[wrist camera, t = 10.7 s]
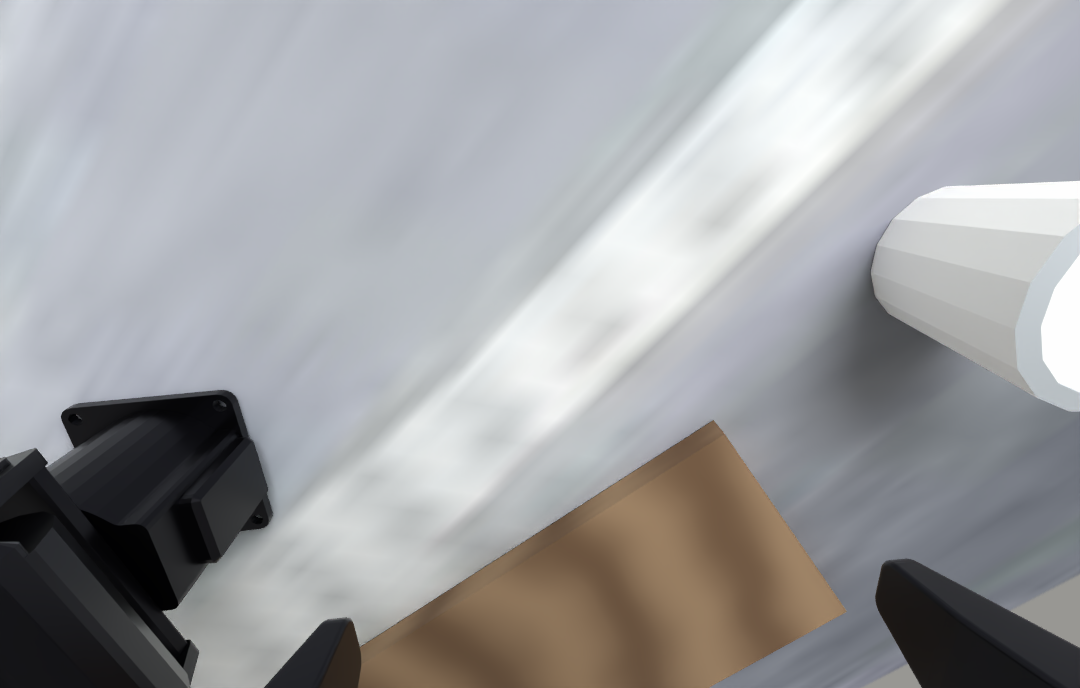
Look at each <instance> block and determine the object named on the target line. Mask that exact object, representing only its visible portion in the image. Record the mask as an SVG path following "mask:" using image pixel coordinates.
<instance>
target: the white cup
mask: <svg viewBox="0 0 1080 688" xmlns="http://www.w3.org/2000/svg"><path fill="white" fill-rule="evenodd" d="M871 277H872V282H873V288H874V294H875V297H876V298H877V299H878V301H879V302H880V303H881V305H882V306H883V307H884V309H885V310H886V311H887V312H888V314H890V315H892V316H893V317H895V318H897V319H899V320H901V321H902V322H904V323H906V324H908V325H909V326H911V327H913V328H915V329H916V330H918V331H920V332H922V333H924V334H925V335H927V336H929V337H931V338H932V339H934V340H936V341H938V342H939V343H941V344H943V345H945V346H947V347H948V348H950V349H952V350H954V351H955V352H957V353H959V354H961V355H962V356H964V357H966V358H968V359H969V360H971V361H973V362H975V363H977V364H978V365H980V366H982V367H984V368H985V369H987V370H989V371H991V372H992V373H994V374H996V375H998V376H1000V377H1001V378H1003V379H1005V380H1007V381H1008V382H1010V383H1012V384H1014V385H1015V386H1017V387H1019V388H1021V389H1023V390H1024V391H1026V392H1028V393H1030V394H1031V395H1033V396H1035V397H1037V398H1039V399H1041V400H1044V401H1046V402H1048V403H1051V404H1053V405H1055V406H1058V407H1060V408H1062V409H1065V410H1067V411H1069V412H1072V411H1080V181H1070V182H1045V183H1021V184H997V185H973V186H948V187H942V188H940V189H938V190H935V191H933V192H930V193H928V194H926V195H923V196H921V197H918V198H916V199H915V200H914V201H913V202H912V203H911V204H909V205H908V206H907V207H906V208H905V209H904V210H903V211H901V212H900V213H899V214H898V215H897V216H896V217H894V218H893V220H892V221H891V223H890V224H889V226H888V228H887V229H886V231H885V232H884V234H883V236H882V237H881V239H880V241H879V242H878V244H877V246H876V251H875V255H874V260H873V264H872V268H871Z"/></svg>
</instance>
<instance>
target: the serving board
mask: <svg viewBox="0 0 1080 688" xmlns="http://www.w3.org/2000/svg"><path fill="white" fill-rule="evenodd" d="M845 612H847V611H846V610H845V608H844V607H843V605H842V604H841V602H840V601H839V599H838V598H837V597H836V595H835V594H834V592H833V591H832V589H831V588H830V586H829V585H828V583H827V582H826V581H825V579H824V578H823V576H822V575H821V573H820V572H819V570H818V569H817V567H816V566H815V565H814V563H813V562H812V560H811V559H810V557H809V556H808V554H807V553H806V552H805V550H804V549H803V547H802V546H801V544H800V543H799V541H798V540H797V538H796V537H795V536H794V534H793V533H792V531H791V530H790V528H789V527H788V525H787V524H786V522H785V521H784V520H783V518H782V517H781V515H780V514H779V512H778V511H777V509H776V508H775V506H774V505H773V504H772V502H771V501H770V499H769V498H768V496H767V495H766V493H765V492H764V491H763V489H762V488H761V486H760V485H759V483H758V482H757V480H756V479H755V477H754V476H753V475H752V473H751V472H750V470H749V469H748V467H747V466H746V464H745V463H744V461H743V460H742V459H741V457H740V456H739V454H738V453H737V451H736V450H735V448H734V447H733V445H732V444H731V443H730V441H729V440H728V438H727V437H726V435H725V434H724V433H723V431H722V430H721V429H720V428H719V426H718V425H717V424H716V423H715V421H714V420H713V421H712V422H710V423H709V424H707V425H705V426H704V427H702V428H701V429H699V430H698V431H696V432H695V433H693V434H691V435H690V436H688V437H687V438H685V439H684V440H682V441H680V442H679V443H677V444H676V445H674V446H673V447H671V448H670V449H668V450H666V451H665V452H663V453H662V454H660V455H659V456H657V457H656V458H654V459H652V460H651V461H649V462H648V463H646V464H645V465H643V466H642V467H640V468H638V469H637V470H635V471H634V472H632V473H631V474H629V475H628V476H626V477H624V478H623V479H621V480H620V481H618V482H617V483H615V484H614V485H612V486H610V487H609V488H607V489H606V490H604V491H603V492H601V493H600V494H598V495H596V496H595V497H593V498H592V499H590V500H589V501H587V502H585V503H584V504H582V505H581V506H579V507H578V508H576V509H575V510H573V511H571V512H570V513H568V514H567V515H565V516H564V517H562V518H561V519H559V520H557V521H556V522H554V523H553V524H551V525H550V526H548V527H547V528H545V529H543V530H542V531H540V532H539V533H537V534H536V535H534V536H533V537H531V538H529V539H528V540H526V541H525V542H523V543H522V544H520V545H519V546H517V547H515V548H514V549H512V550H511V551H509V552H508V553H506V554H505V555H503V556H501V557H500V558H498V559H497V560H495V561H494V562H492V563H490V564H489V565H487V566H486V567H484V568H483V569H481V570H480V571H478V572H476V573H475V574H473V575H472V576H470V577H469V578H467V579H466V580H464V581H462V582H461V583H459V584H458V585H456V586H455V587H453V588H452V589H450V590H448V591H447V592H445V593H444V594H442V595H441V596H439V597H438V598H436V599H434V600H433V601H431V602H430V603H428V604H427V605H425V606H424V607H422V608H420V609H419V610H417V611H416V612H414V613H413V614H411V615H410V616H408V617H406V618H405V619H403V620H402V621H400V622H399V623H397V624H396V625H394V626H392V627H391V628H389V629H388V630H386V631H385V632H383V633H381V634H380V635H378V636H377V637H375V638H374V639H372V640H371V641H369V642H367V643H366V644H364V645H363V646H361V647H360V651H361V660H362V662H361V672H360V678H359V684H358V688H709V687H711V686H713V685H714V684H716V683H718V682H720V681H722V680H724V679H725V678H727V677H729V676H731V675H733V674H734V673H736V672H738V671H740V670H742V669H744V668H745V667H747V666H749V665H751V664H753V663H754V662H756V661H758V660H760V659H762V658H763V657H765V656H767V655H769V654H771V653H773V652H774V651H776V650H778V649H780V648H782V647H783V646H785V645H787V644H789V643H791V642H793V641H794V640H796V639H798V638H800V637H802V636H803V635H805V634H807V633H809V632H811V631H813V630H814V629H816V628H818V627H820V626H822V625H823V624H825V623H827V622H829V621H831V620H833V619H834V618H836V617H838V616H840V615H842V614H843V613H845Z"/></svg>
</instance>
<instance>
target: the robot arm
mask: <svg viewBox="0 0 1080 688" xmlns="http://www.w3.org/2000/svg"><path fill="white" fill-rule="evenodd" d="M218 400H221V401H223V402H224V403H225V404H226V407H223V406H221V405H220V404H219V403H218ZM76 414H77V415H79V416H80V417H81V418H82V420H81V419H79V418H78V417H77V416H76ZM61 419H62V422H63V424H64V426H65V429H66V431H67V433H68V435H69V437H70V440H71V442H72V444H73V446H74V449H73V450H71V451H70V452H69V453H67V454H66V455H64V456H63V457H61V458H60V459H58V460H57V461H55V462H54V463H53V464H51V465H50V466H48V467H47V468H46V467H45V466H46V465H47V464H48V462H47V461H46V460H45V459H44V457H43V456H42V455H41V454H40V452H39V451H38V450H37V449H36V448H34V449H30V450H27V451H24V452H21V453H18V454H15V455H12V456H9V457H3V458H0V688H191V687H190V685H191V681H192V677H193V673H194V670H195V666H196V662H197V658H198V655H199V650H198V649H197V648H196V647H195V645H194V644H193V643H192V642H191V640H185V639H184V638H183V637H182V635H181V634H180V633H179V632H178V630H177V629H176V628H175V627H174V625H173V624H172V623H171V622H170V620H169V619H168V618H167V617H166V615H165V614H164V613H163V612H162V611H165V610H173V609H175V608H177V606H178V605H179V604H180V602H181V601H182V600H183V598H184V597H185V596H186V594H187V593H188V591H189V590H190V589H191V587H192V586H193V584H194V583H195V582H196V580H197V579H198V577H199V576H200V575H201V573H202V572H203V570H204V569H205V568H206V566H207V565H208V564H209V563H217V562H218V561H219V560H220V558H221V557H222V556H223V555H224V553H225V552H226V550H227V549H228V547H229V546H230V545H231V543H232V542H233V540H234V539H235V537H236V536H237V534H238V533H239V532H240V531H244V530H253V529H261V528H264V527H266V526H267V525H268V523H269V522H270V520H271V518H272V516H273V512H272V509H271V506H270V503H269V499H268V496H267V491H268V487H267V484H266V481H265V477H264V474H263V471H262V468H261V464H260V461H259V458H258V455H257V452H256V448H255V445H254V442H253V441H252V440H251V439H250V438H249V436H248V432H247V429H246V426H245V423H244V420H243V416H242V413H241V410H240V407H239V404H238V400H237V398H236V397H235V395H233V394H232V393H231V392H229V391H226V390H217V391H206V392H195V393H185V394H174V395H164V396H153V397H142V398H132V399H121V400H110V401H100V402H89V403H78V404H75V405H73V406H71V407H69V408H67V409H66V410H64V411H63V412H62V415H61ZM256 515H260V516H261V517H262V518H259V517H257V516H256ZM875 599H876V605H877V608H878V611H879V613H880V615H881V616H882V618H883V620H884V622H885V623H886V625H887V627H888V629H889V630H890V632H891V634H892V636H893V638H894V639H895V641H896V643H897V645H898V646H899V648H900V650H901V652H902V653H903V655H904V657H905V659H906V661H907V662H908V664H909V666H910V668H911V669H912V671H913V673H914V675H915V676H916V678H917V680H918V682H919V684H920V685H921V687H922V688H1080V648H1079V647H1077V646H1075V645H1073V644H1071V643H1070V642H1068V641H1066V640H1064V639H1062V638H1060V637H1058V636H1056V635H1054V634H1052V633H1051V632H1048V631H1047V630H1045V629H1043V628H1041V627H1039V626H1037V625H1035V624H1034V623H1031V622H1030V621H1028V620H1026V619H1024V618H1022V617H1020V616H1018V615H1017V614H1015V613H1013V612H1011V611H1009V610H1007V609H1005V608H1003V607H1001V606H1000V605H998V604H996V603H994V602H992V601H990V600H988V599H986V598H984V597H983V596H981V595H979V594H977V593H975V592H973V591H971V590H969V589H967V588H966V587H964V586H962V585H960V584H958V583H956V582H954V581H952V580H950V579H949V578H947V577H945V576H943V575H941V574H939V573H937V572H935V571H933V570H931V569H930V568H928V567H926V566H924V565H922V564H920V563H918V562H916V561H914V560H911V559H897V560H888V561H885V563H884V564H883V565H882V567H881V572H880V577H879V581H878V586H877V590H876V596H875ZM361 662H362V660H361V651H360V647H359V643H358V639H357V635H356V632H355V628H354V624H353V622H352V620H351V619H350V618H347V617H346V618H337V619H328V620H326V621H324V622H323V623H321V624H320V626H319V627H318V628H317V629H316V630H315V631H314V632H313V633H312V634H311V636H310V637H309V638H308V639H307V640H306V641H305V642H304V643H303V645H302V646H301V647H300V648H299V649H298V650H297V651H296V652H295V654H294V655H293V656H292V657H291V658H290V659H289V660H288V661H287V662H286V664H285V665H284V666H283V667H282V668H281V669H280V670H279V671H278V673H277V674H276V675H275V676H274V677H273V678H272V679H271V680H270V682H269V683H268V684H267V685H266V686H265V687H264V688H358V684H359V678H360V672H361Z"/></svg>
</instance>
